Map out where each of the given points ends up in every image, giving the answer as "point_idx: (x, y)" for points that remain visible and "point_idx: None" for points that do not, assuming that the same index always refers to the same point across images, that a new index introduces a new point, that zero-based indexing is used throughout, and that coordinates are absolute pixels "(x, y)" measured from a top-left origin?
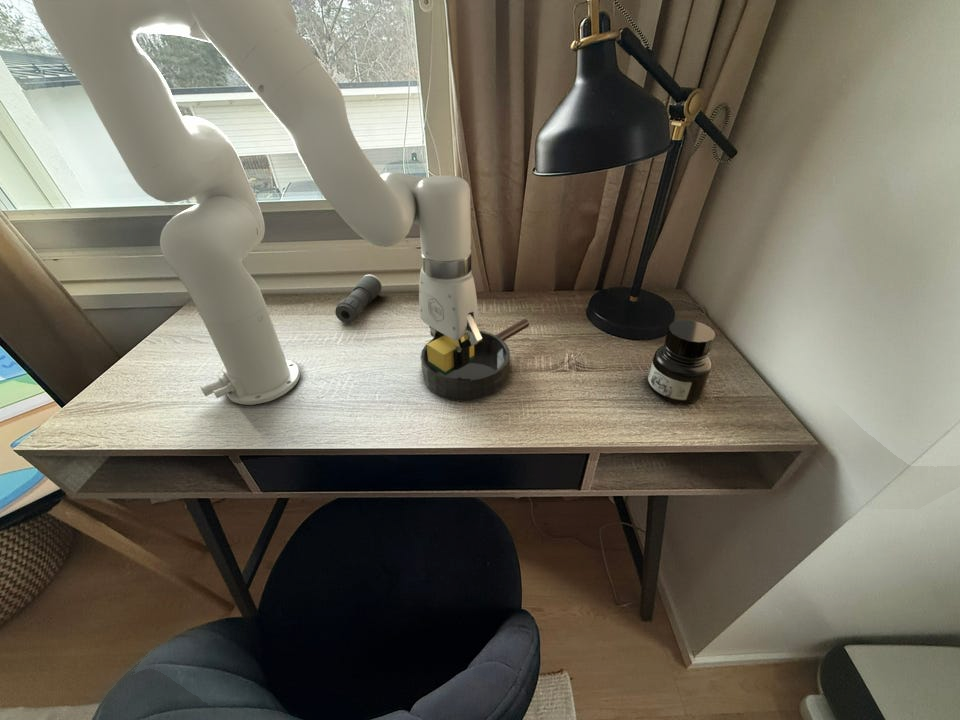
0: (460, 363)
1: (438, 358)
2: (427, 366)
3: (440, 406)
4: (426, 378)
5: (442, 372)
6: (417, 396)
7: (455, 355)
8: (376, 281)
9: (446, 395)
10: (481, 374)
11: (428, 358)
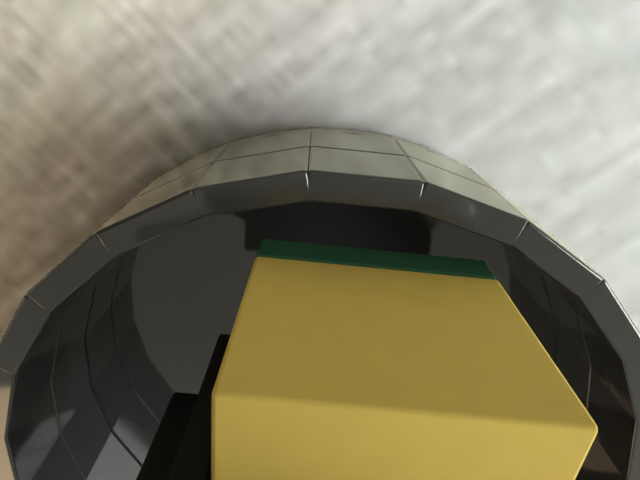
0: (196, 397)
1: (340, 329)
2: (460, 225)
3: (215, 57)
4: (434, 163)
5: (298, 248)
6: (416, 31)
7: (182, 453)
8: None
9: (230, 144)
10: None
11: (500, 295)
